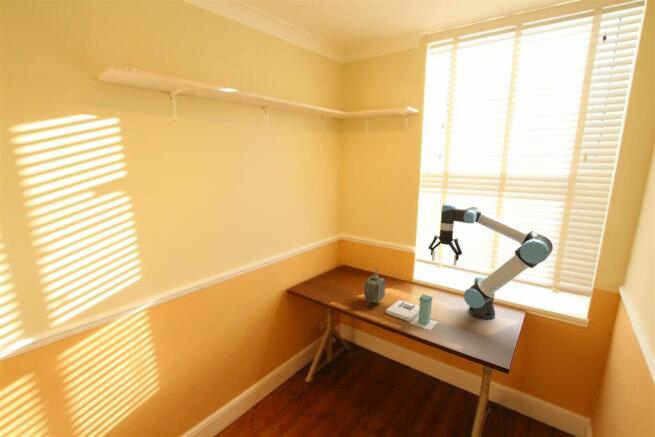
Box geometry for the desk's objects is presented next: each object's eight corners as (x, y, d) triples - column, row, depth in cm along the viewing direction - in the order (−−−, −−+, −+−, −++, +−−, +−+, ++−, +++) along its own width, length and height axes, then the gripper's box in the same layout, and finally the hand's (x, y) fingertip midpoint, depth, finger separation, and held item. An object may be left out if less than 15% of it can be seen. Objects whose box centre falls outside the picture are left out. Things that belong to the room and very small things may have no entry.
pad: (437, 322, 187) (437, 321, 187) (429, 330, 178) (429, 330, 178) (418, 316, 195) (418, 315, 195) (410, 323, 186) (410, 323, 186)
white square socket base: (422, 310, 201) (422, 306, 201) (410, 321, 188) (410, 316, 187) (399, 303, 211) (399, 299, 211) (386, 313, 198) (386, 308, 197)
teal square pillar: (430, 322, 187) (432, 296, 184) (426, 325, 182) (428, 300, 179) (421, 319, 190) (423, 294, 187) (417, 322, 186) (419, 297, 183)
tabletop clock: (372, 298, 218) (373, 264, 213) (384, 301, 214) (386, 266, 209) (363, 306, 206) (365, 270, 201) (376, 310, 201) (378, 273, 197)
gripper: (469, 231, 188) (466, 265, 192) (429, 225, 204) (426, 257, 208) (466, 233, 183) (462, 268, 187) (424, 227, 198) (422, 259, 202)
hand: (443, 262), depth 197 cm, fingers open, 13 cm apart
